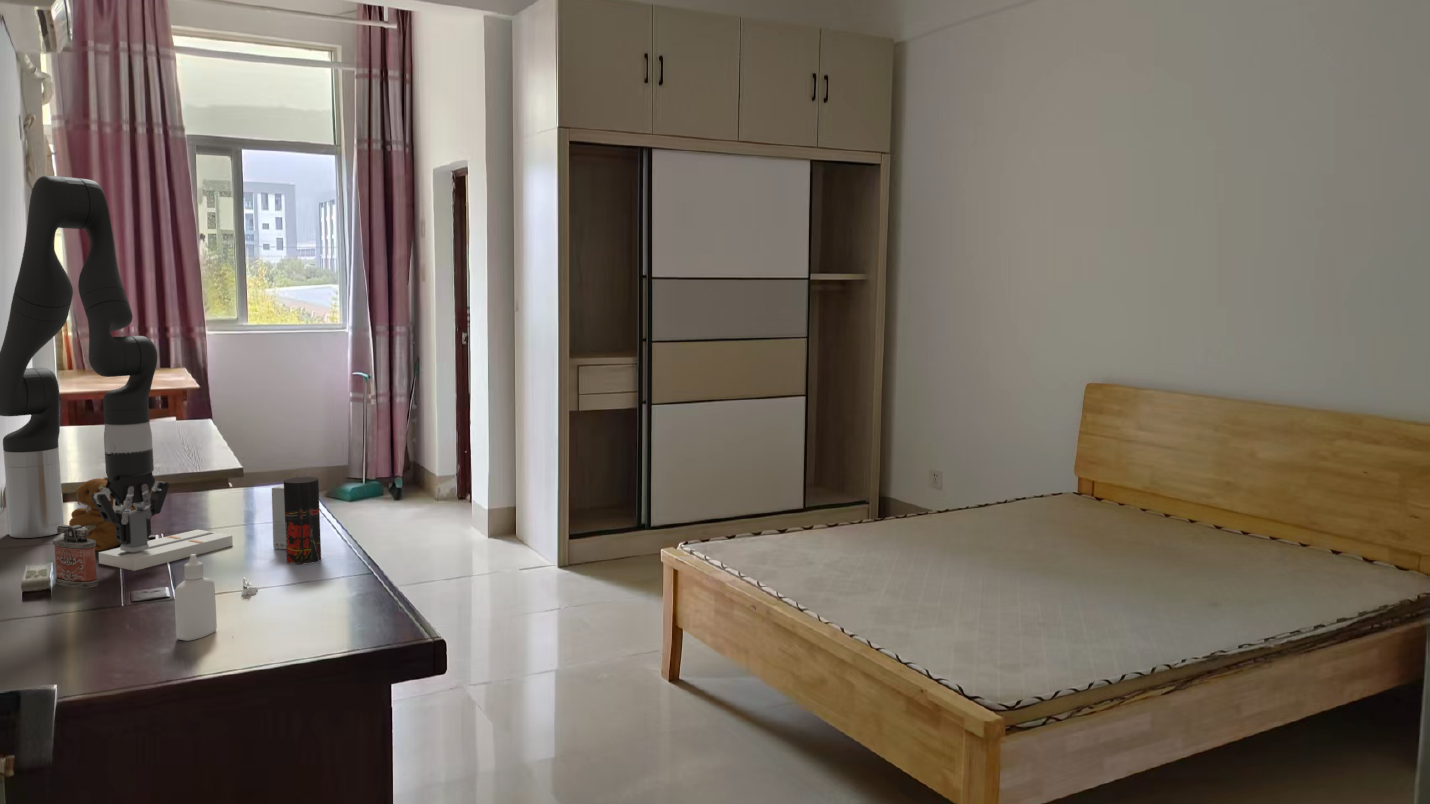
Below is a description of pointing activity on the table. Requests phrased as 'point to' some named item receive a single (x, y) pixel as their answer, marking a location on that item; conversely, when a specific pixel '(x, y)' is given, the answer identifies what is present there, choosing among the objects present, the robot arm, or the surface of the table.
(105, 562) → the panel
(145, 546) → the fader
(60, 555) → the lighter
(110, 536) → the stuffed squirrel
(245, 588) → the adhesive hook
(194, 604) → the eye dropper bottle
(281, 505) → the skincare box
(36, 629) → the table surface
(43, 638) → the table surface
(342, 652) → the table surface
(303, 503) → the deodorant
